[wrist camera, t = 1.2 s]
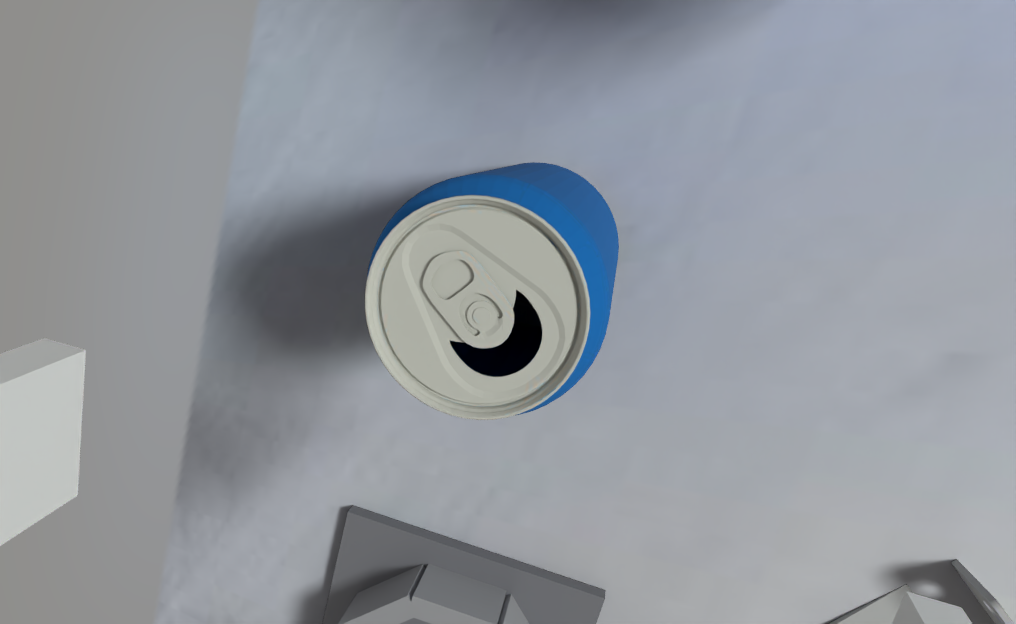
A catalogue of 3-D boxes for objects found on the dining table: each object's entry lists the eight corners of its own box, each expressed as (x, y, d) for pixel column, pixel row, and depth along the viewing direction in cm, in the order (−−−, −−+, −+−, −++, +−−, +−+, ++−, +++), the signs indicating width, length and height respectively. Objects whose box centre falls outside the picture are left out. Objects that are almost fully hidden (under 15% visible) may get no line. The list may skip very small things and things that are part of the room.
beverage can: (524, 352, 30) (456, 482, 19) (427, 229, 30) (297, 284, 18) (652, 260, 29) (664, 340, 17) (552, 127, 28) (494, 118, 17)
